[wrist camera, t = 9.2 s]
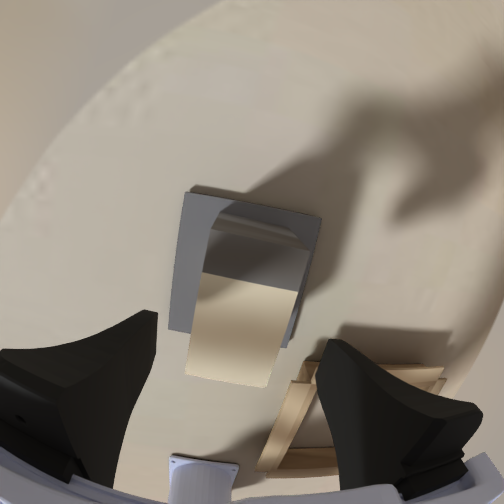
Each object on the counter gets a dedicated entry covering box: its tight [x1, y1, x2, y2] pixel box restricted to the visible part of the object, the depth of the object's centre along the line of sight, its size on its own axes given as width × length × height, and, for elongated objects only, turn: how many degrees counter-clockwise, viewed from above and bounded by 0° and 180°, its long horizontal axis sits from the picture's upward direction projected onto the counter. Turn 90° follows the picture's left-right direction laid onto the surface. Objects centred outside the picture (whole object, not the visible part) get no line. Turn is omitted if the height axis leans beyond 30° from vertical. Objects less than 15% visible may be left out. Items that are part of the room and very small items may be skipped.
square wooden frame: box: [255, 361, 447, 478], centre depth 23 cm, size 16×16×3 cm
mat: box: [168, 192, 322, 348], centre depth 19 cm, size 10×9×1 cm
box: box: [185, 212, 310, 388], centre depth 16 cm, size 8×4×6 cm, turn 167°
